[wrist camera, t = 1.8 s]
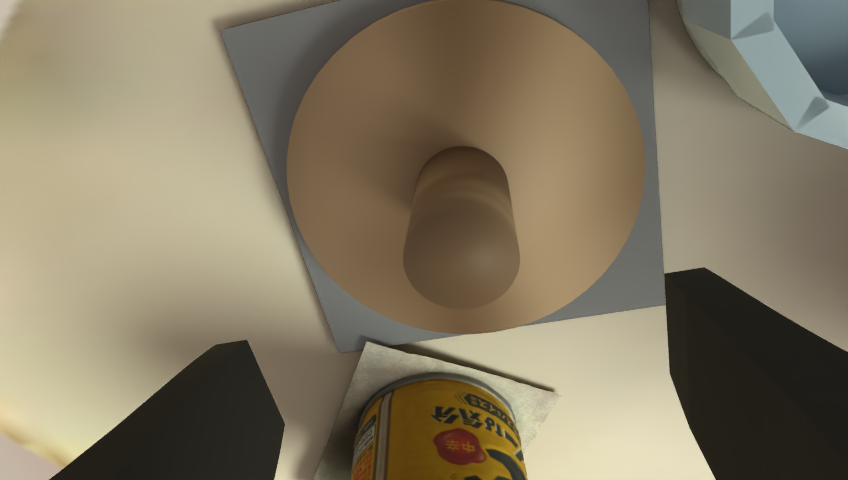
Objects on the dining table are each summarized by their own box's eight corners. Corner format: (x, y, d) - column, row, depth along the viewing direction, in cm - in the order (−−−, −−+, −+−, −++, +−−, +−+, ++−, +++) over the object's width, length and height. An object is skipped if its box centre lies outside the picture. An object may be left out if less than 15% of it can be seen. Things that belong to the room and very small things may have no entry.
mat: (639, -75, 14) (643, -76, 14) (661, 298, 19) (665, 304, 19) (225, 28, 16) (220, 30, 16) (340, 346, 21) (338, 353, 21)
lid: (623, -47, 14) (689, -37, 10) (648, 293, 19) (701, 399, 15) (243, 45, 16) (163, 88, 12) (348, 339, 20) (318, 447, 16)
